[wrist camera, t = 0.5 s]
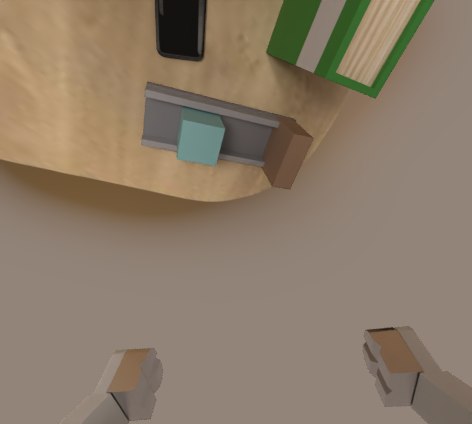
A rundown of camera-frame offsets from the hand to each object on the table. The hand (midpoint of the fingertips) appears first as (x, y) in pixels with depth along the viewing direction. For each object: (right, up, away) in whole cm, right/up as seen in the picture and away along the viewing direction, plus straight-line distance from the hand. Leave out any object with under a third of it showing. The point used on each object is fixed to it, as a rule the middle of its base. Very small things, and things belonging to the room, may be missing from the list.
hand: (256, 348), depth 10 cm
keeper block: (-8, +22, +41) cm, 47 cm away
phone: (-10, +39, +31) cm, 50 cm away
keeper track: (-4, +23, +44) cm, 49 cm away
